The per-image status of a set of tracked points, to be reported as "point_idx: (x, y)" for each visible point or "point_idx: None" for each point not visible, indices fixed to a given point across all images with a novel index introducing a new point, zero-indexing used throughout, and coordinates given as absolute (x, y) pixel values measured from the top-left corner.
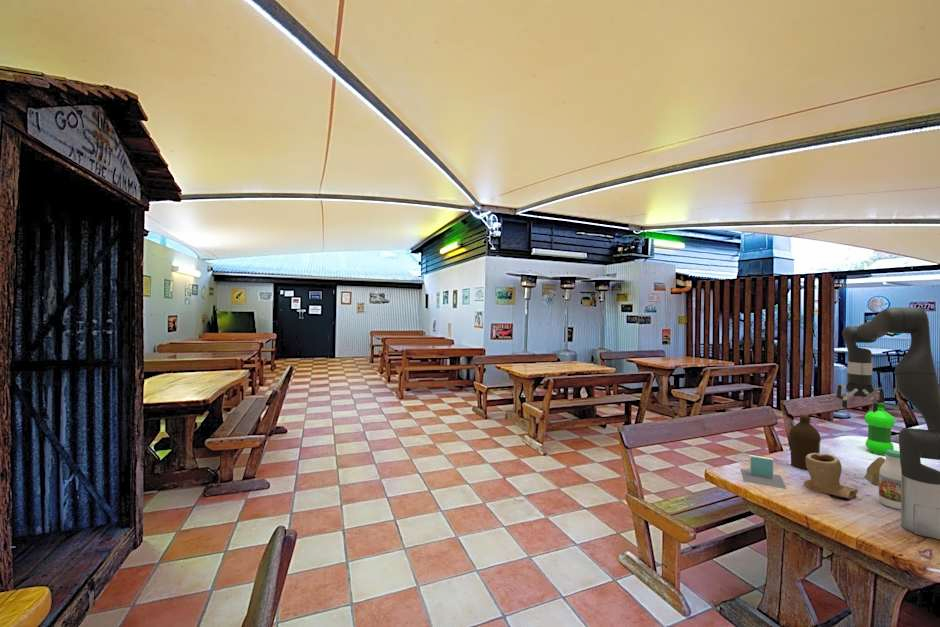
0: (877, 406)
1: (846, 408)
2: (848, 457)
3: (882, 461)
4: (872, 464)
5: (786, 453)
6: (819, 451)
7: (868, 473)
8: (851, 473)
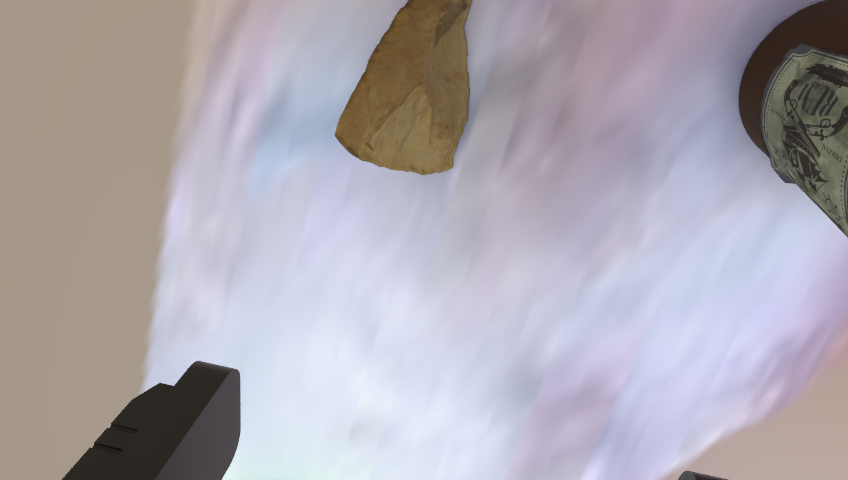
0: (71, 474)
1: (705, 475)
2: (450, 420)
3: (362, 109)
4: (430, 90)
5: (799, 367)
6: (823, 83)
7: (455, 96)
8: (525, 150)
